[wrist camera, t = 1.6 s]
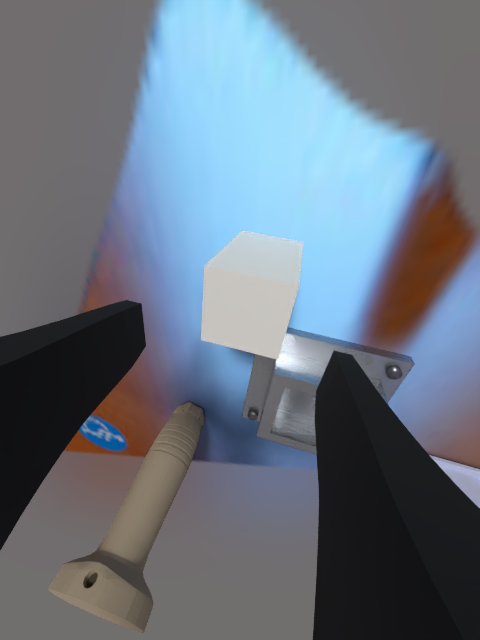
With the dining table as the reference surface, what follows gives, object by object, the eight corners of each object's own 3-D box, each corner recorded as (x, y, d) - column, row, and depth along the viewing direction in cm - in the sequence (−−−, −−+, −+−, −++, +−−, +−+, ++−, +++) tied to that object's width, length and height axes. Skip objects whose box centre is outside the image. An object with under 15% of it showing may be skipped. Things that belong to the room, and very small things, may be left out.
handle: (222, 429, 28) (152, 638, 16) (170, 420, 29) (69, 604, 17) (217, 399, 26) (129, 619, 13) (161, 391, 27) (34, 581, 15)
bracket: (410, 356, 18) (430, 393, 15) (353, 442, 24) (359, 480, 21) (262, 321, 19) (254, 348, 17) (243, 410, 25) (235, 441, 22)
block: (303, 241, 16) (299, 285, 10) (288, 297, 18) (278, 359, 12) (242, 230, 16) (204, 265, 10) (235, 285, 18) (200, 340, 13)
